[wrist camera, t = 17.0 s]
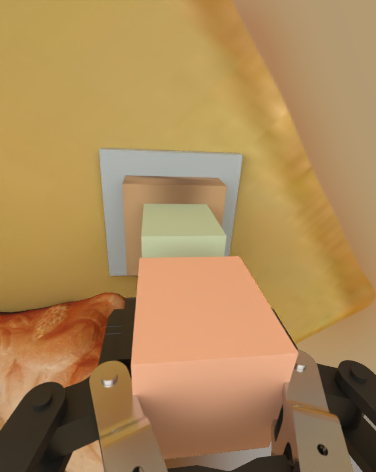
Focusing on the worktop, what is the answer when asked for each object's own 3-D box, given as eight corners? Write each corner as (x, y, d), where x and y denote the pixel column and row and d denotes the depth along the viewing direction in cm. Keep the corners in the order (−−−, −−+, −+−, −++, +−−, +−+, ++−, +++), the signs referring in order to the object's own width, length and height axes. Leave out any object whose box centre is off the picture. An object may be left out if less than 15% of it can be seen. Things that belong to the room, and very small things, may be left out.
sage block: (143, 203, 20) (141, 236, 15) (207, 204, 21) (226, 235, 16) (144, 259, 23) (143, 306, 17) (202, 258, 23) (218, 303, 18)
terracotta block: (141, 335, 15) (136, 462, 9) (139, 257, 13) (131, 364, 7) (228, 330, 16) (268, 447, 10) (239, 256, 13) (298, 352, 8)
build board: (111, 269, 27) (109, 275, 26) (101, 147, 22) (98, 149, 21) (224, 266, 29) (226, 272, 28) (238, 153, 24) (242, 155, 23)
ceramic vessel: (185, 359, 34) (208, 517, 21) (-20, 403, 33) (-137, 603, 20) (166, 271, 28) (181, 415, 15) (-86, 320, 27) (-321, 528, 14)
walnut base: (129, 258, 26) (126, 275, 23) (125, 175, 22) (122, 183, 20) (210, 256, 27) (216, 272, 24) (218, 177, 23) (226, 186, 21)
